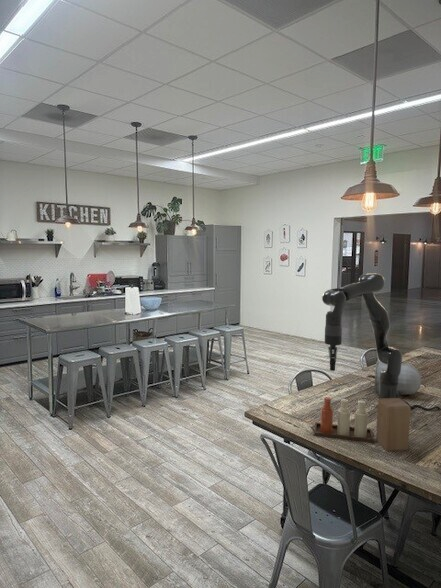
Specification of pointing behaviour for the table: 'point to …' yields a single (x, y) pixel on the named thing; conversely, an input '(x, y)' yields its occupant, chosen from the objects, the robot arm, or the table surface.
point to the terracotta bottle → (326, 416)
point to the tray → (350, 437)
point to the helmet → (400, 378)
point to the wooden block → (393, 424)
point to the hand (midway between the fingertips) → (332, 367)
